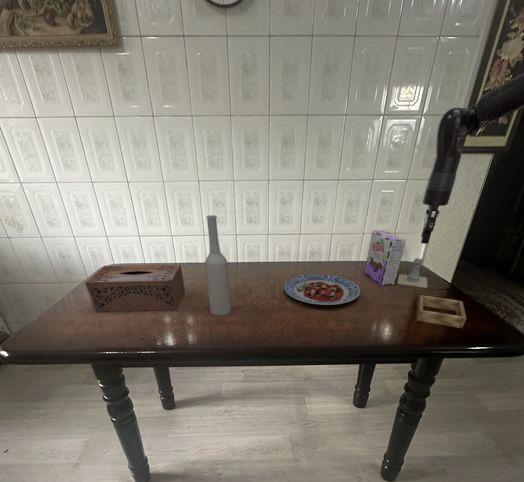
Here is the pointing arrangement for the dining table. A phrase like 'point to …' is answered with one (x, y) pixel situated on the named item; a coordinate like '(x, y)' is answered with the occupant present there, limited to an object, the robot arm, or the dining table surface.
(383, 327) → the dining table surface
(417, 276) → the rook chess piece
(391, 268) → the candy box
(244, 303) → the dining table surface
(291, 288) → the ceramic plate
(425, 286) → the felt mat
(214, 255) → the bottle
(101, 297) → the tissue box cover
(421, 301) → the wooden box
